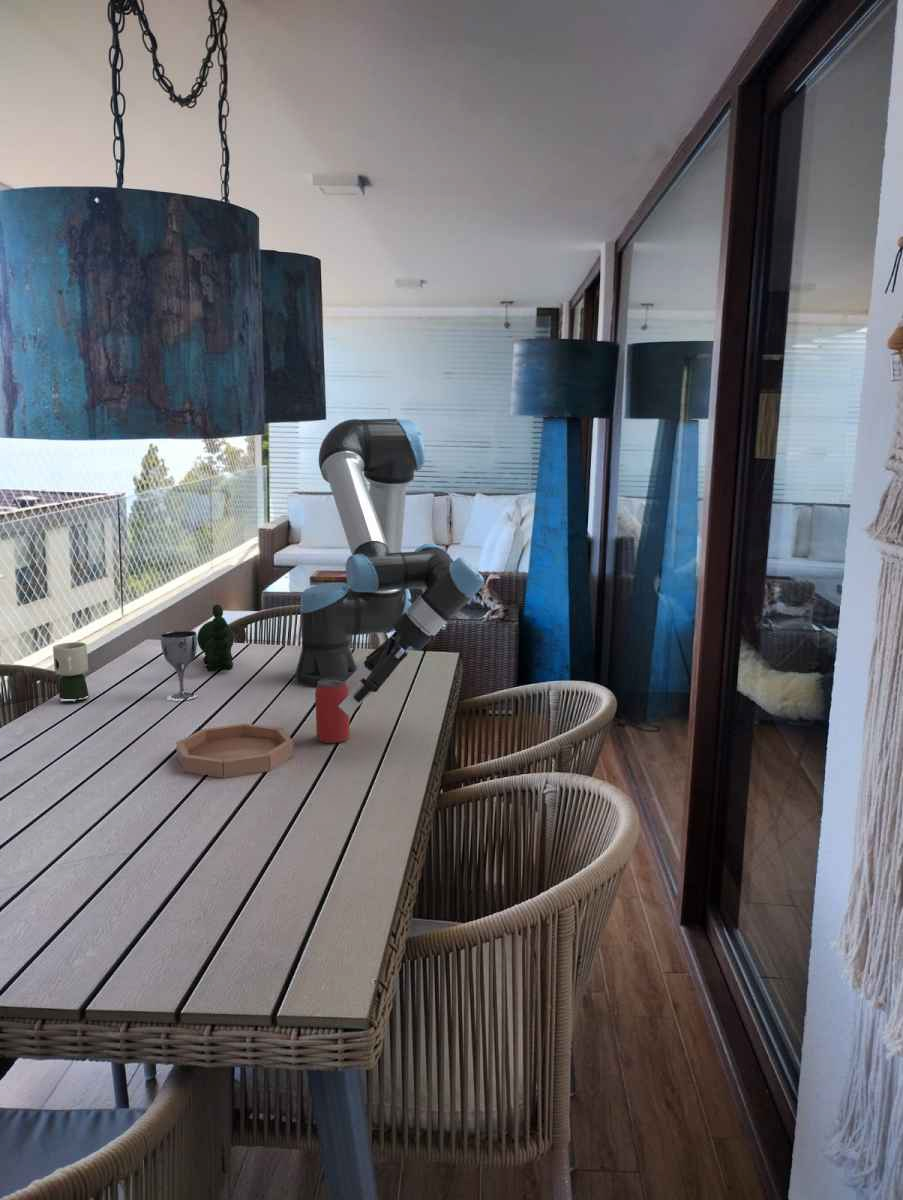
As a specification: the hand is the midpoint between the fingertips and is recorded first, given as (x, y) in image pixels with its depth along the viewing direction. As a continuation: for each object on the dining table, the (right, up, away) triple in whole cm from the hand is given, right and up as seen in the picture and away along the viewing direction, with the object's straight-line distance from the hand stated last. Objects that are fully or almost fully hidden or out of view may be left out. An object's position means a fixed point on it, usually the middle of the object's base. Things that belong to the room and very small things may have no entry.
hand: (344, 700), depth 188 cm
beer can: (-3, -8, +2) cm, 9 cm away
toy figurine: (-40, +2, +59) cm, 71 cm away
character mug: (-65, -3, +29) cm, 71 cm away
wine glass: (-41, -3, +32) cm, 52 cm away
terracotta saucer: (-20, -10, -7) cm, 24 cm away
